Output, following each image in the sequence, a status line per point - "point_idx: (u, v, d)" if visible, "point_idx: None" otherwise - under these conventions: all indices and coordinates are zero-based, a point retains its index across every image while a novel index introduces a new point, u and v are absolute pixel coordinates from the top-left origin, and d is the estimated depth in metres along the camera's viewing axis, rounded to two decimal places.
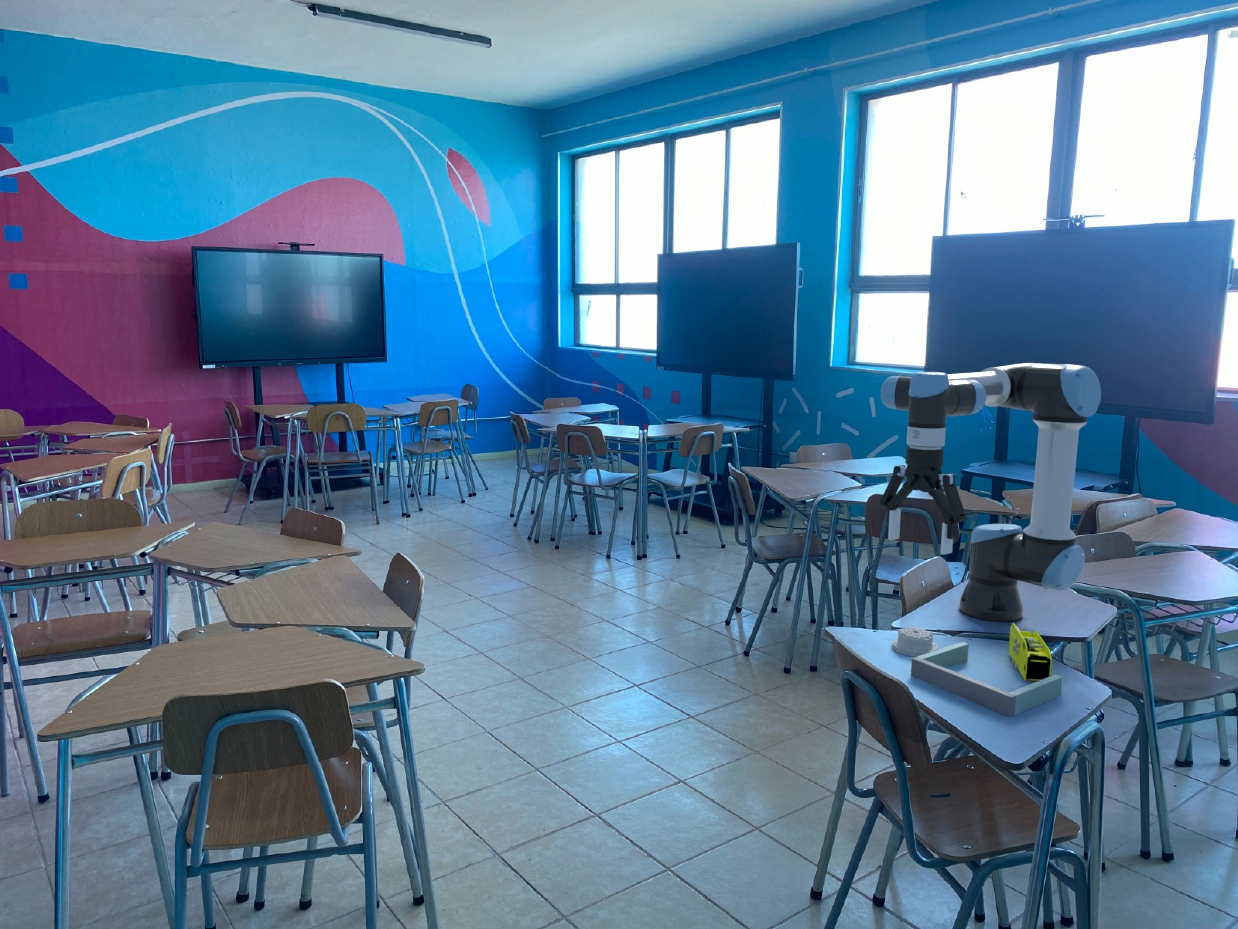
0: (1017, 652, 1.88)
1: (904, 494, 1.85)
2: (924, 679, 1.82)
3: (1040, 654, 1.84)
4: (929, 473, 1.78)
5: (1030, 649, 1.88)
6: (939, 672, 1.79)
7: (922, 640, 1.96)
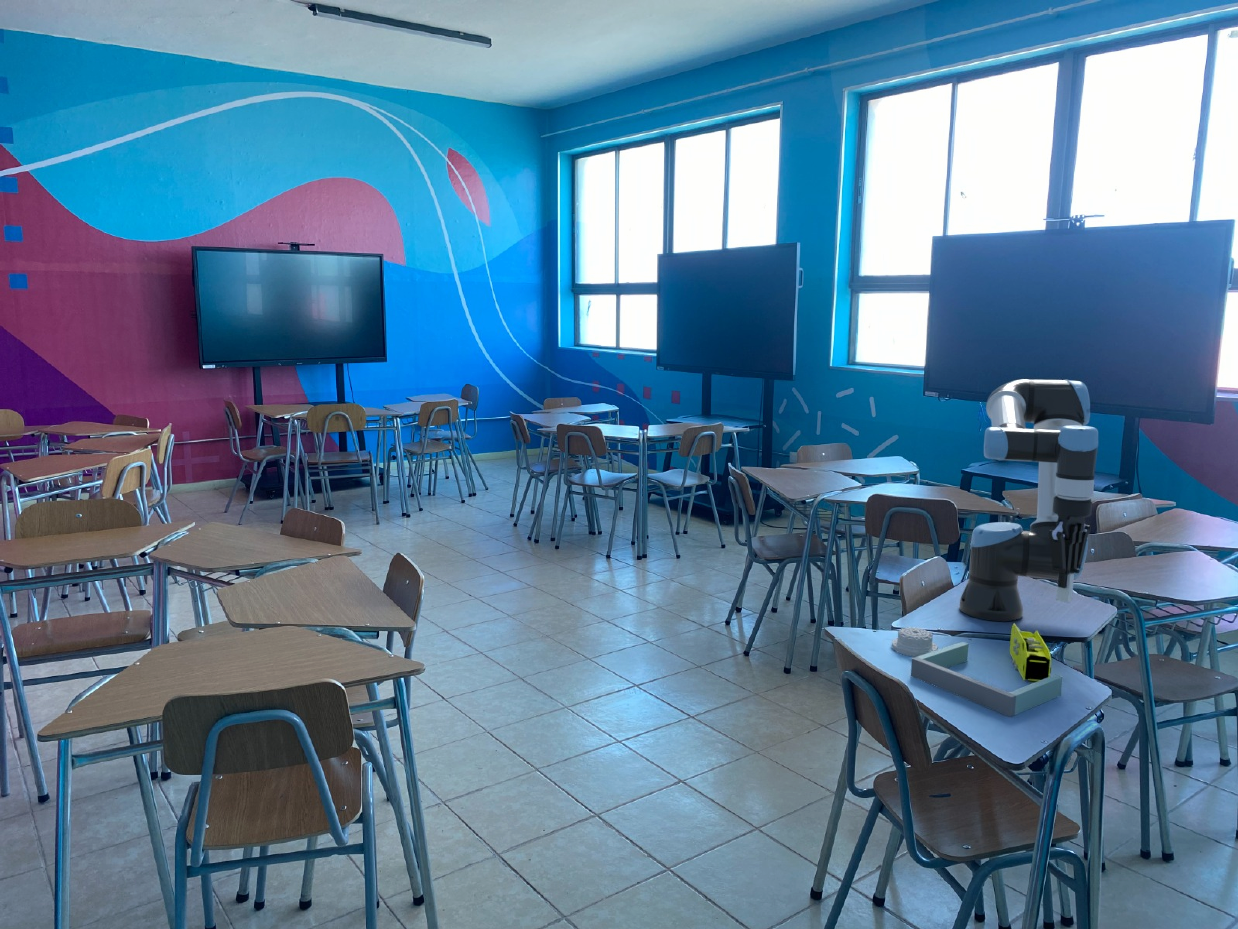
0: (1017, 652, 1.88)
1: None
2: (924, 679, 1.82)
3: (1039, 655, 1.84)
4: None
5: (1030, 649, 1.88)
6: (939, 672, 1.79)
7: (922, 640, 1.96)
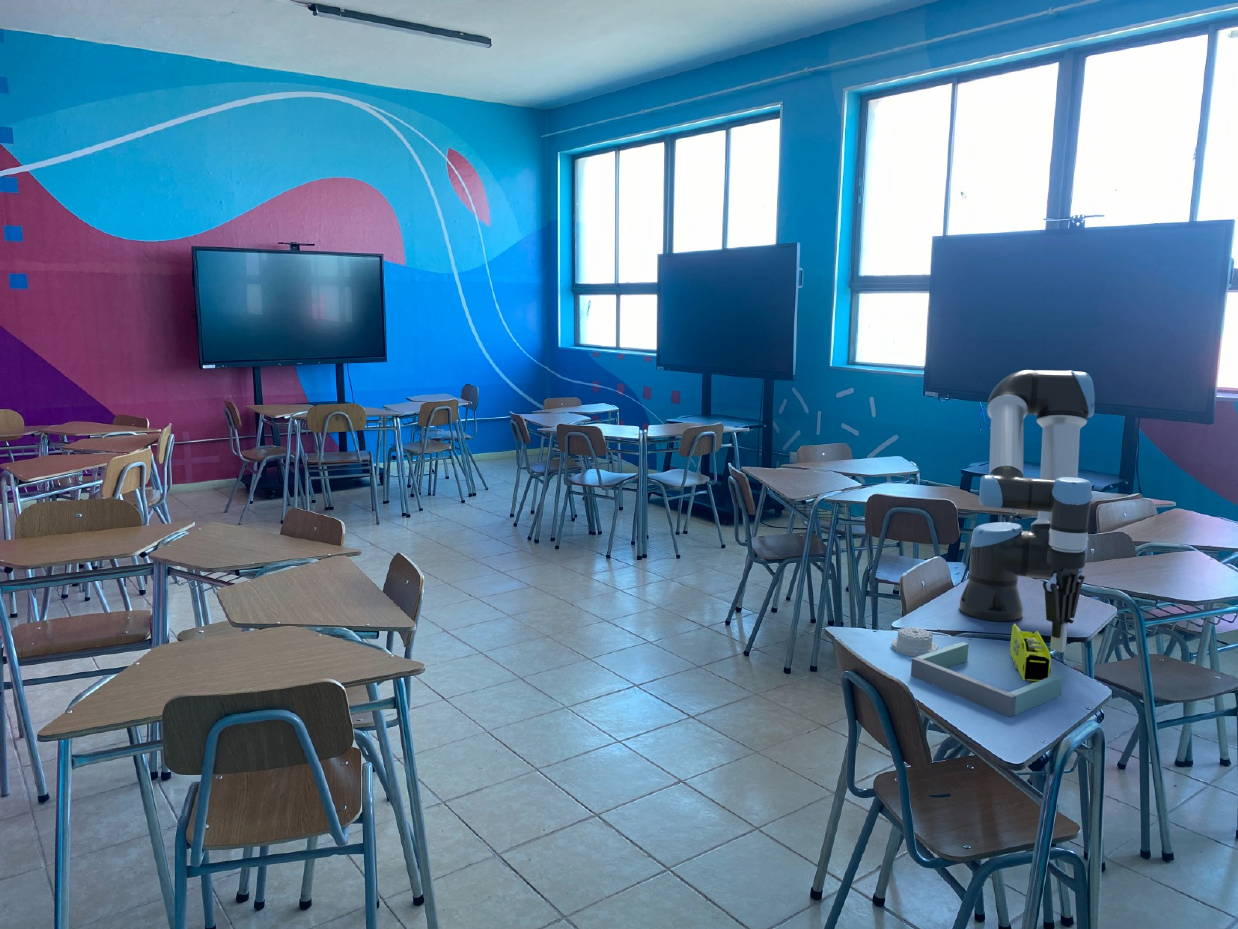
0: (1017, 652, 1.88)
1: None
2: (924, 679, 1.82)
3: (1039, 655, 1.84)
4: None
5: (1030, 649, 1.88)
6: (939, 672, 1.79)
7: (921, 640, 1.96)
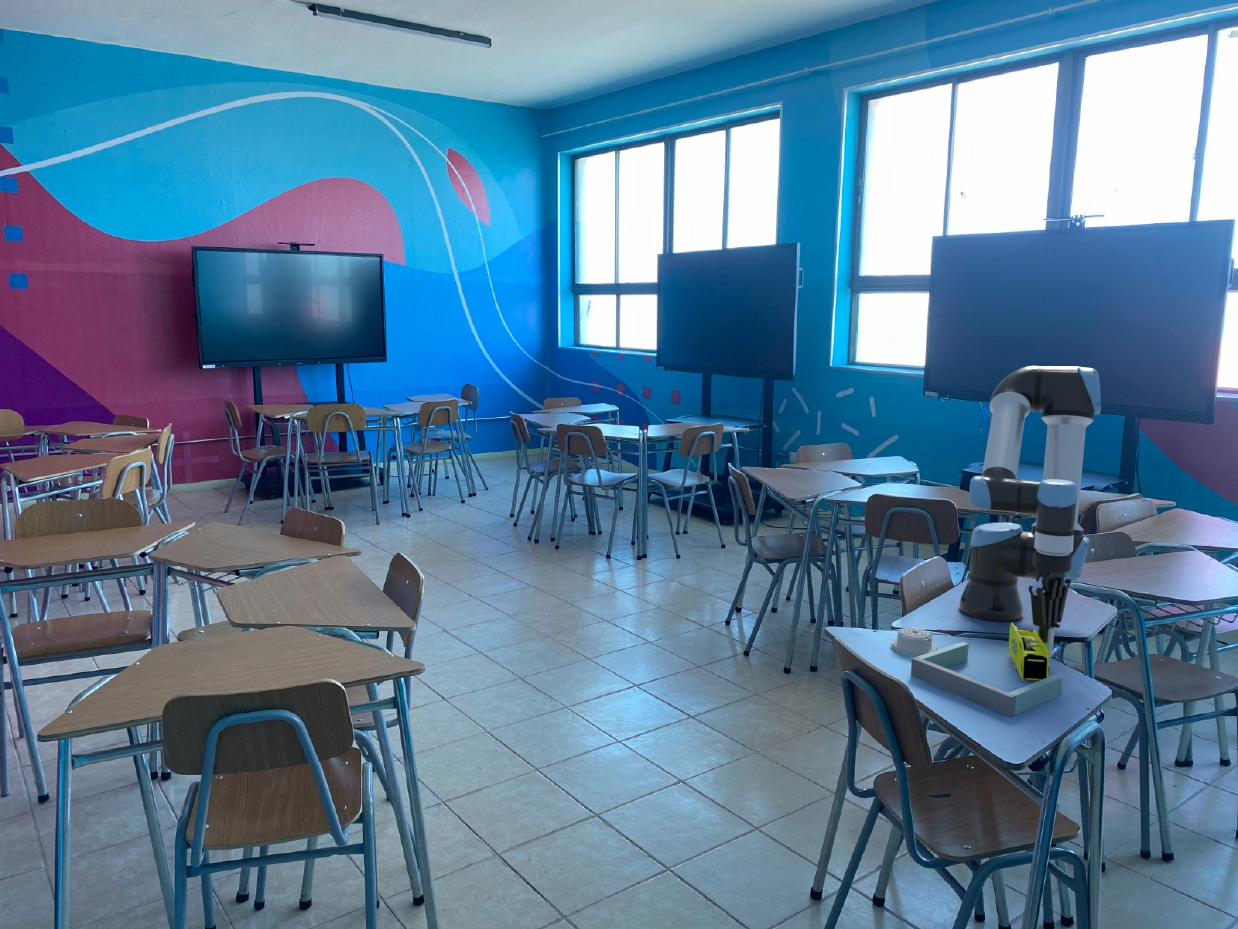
0: (1015, 652, 1.87)
1: None
2: (924, 679, 1.82)
3: (1037, 653, 1.83)
4: None
5: (1028, 648, 1.88)
6: (939, 672, 1.79)
7: (921, 640, 1.96)
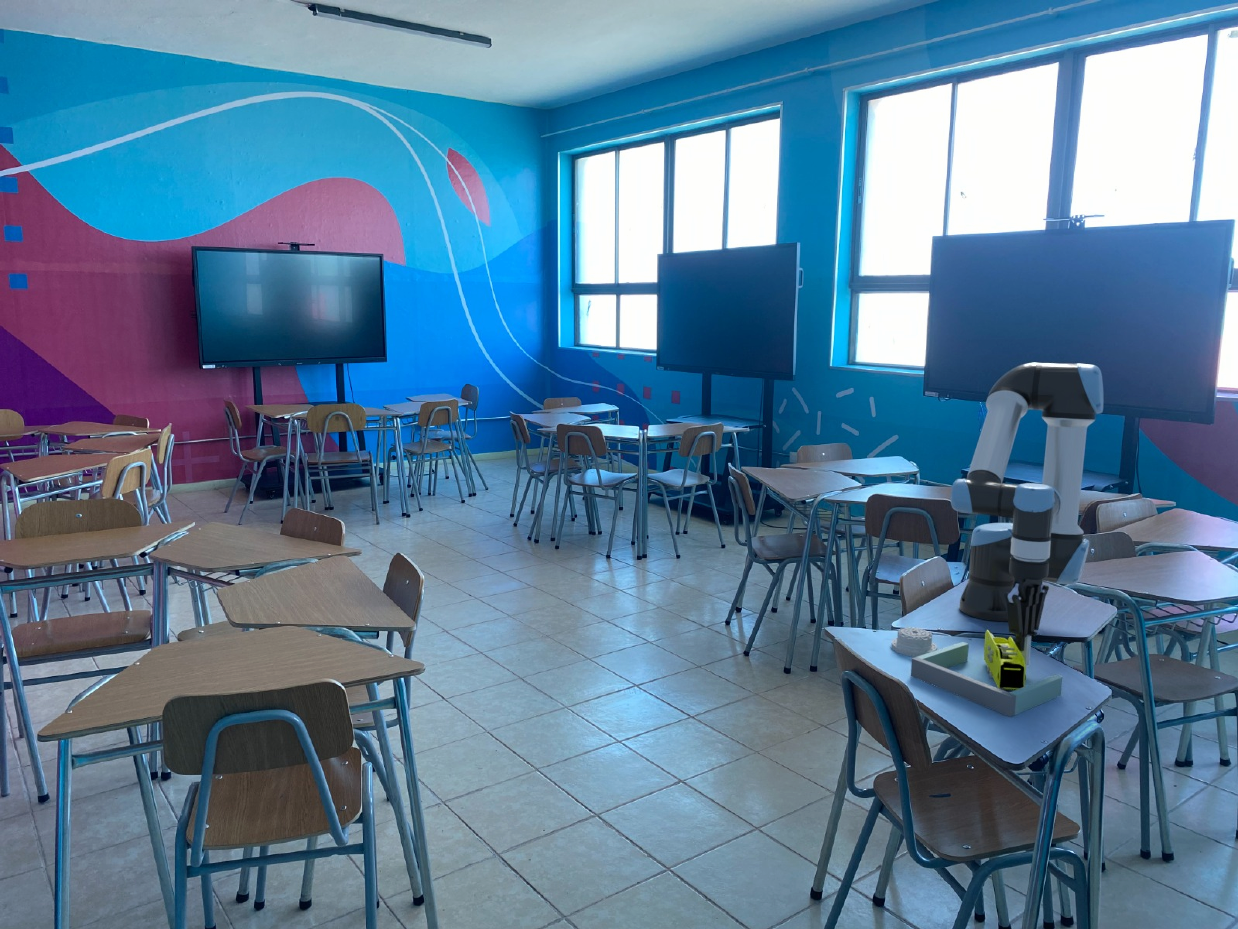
0: (991, 660, 1.83)
1: None
2: (924, 679, 1.82)
3: (1014, 662, 1.79)
4: None
5: (1004, 656, 1.83)
6: (939, 672, 1.79)
7: (921, 640, 1.96)
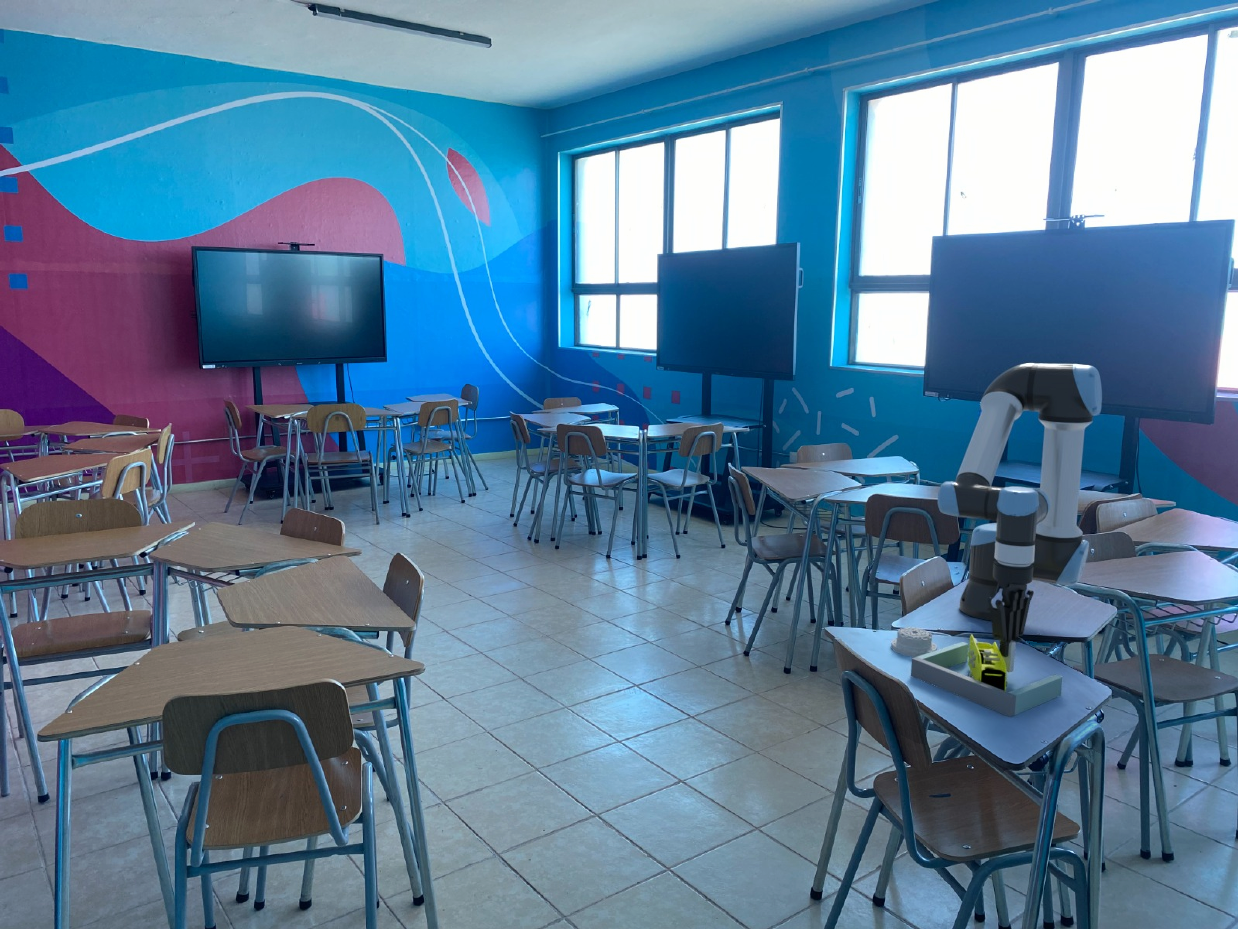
0: (973, 665, 1.80)
1: None
2: (924, 679, 1.82)
3: (996, 667, 1.76)
4: None
5: (987, 662, 1.81)
6: (939, 672, 1.79)
7: (921, 640, 1.96)
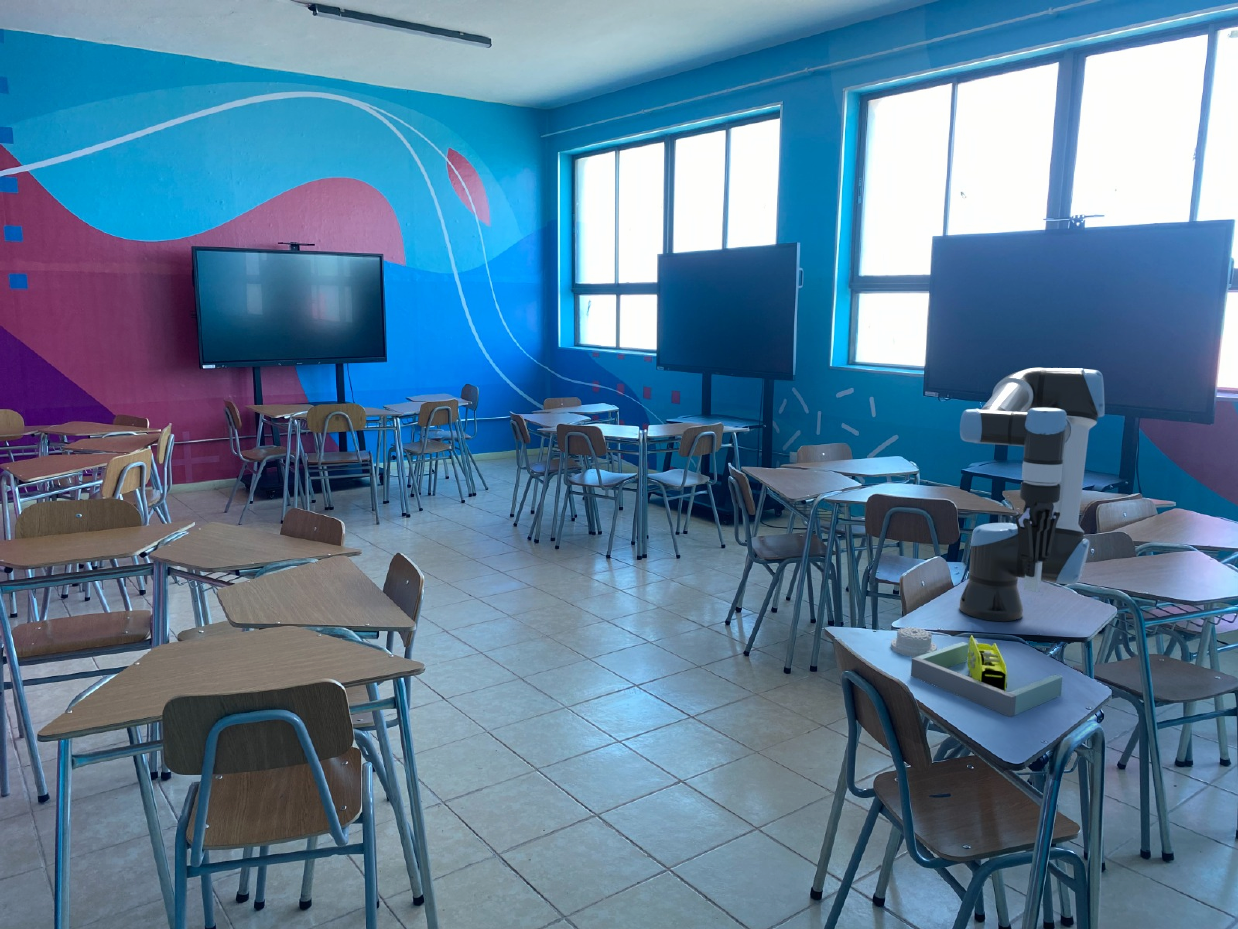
0: (973, 666, 1.80)
1: None
2: (924, 679, 1.82)
3: (996, 668, 1.76)
4: None
5: (987, 663, 1.81)
6: (939, 672, 1.79)
7: (921, 640, 1.96)
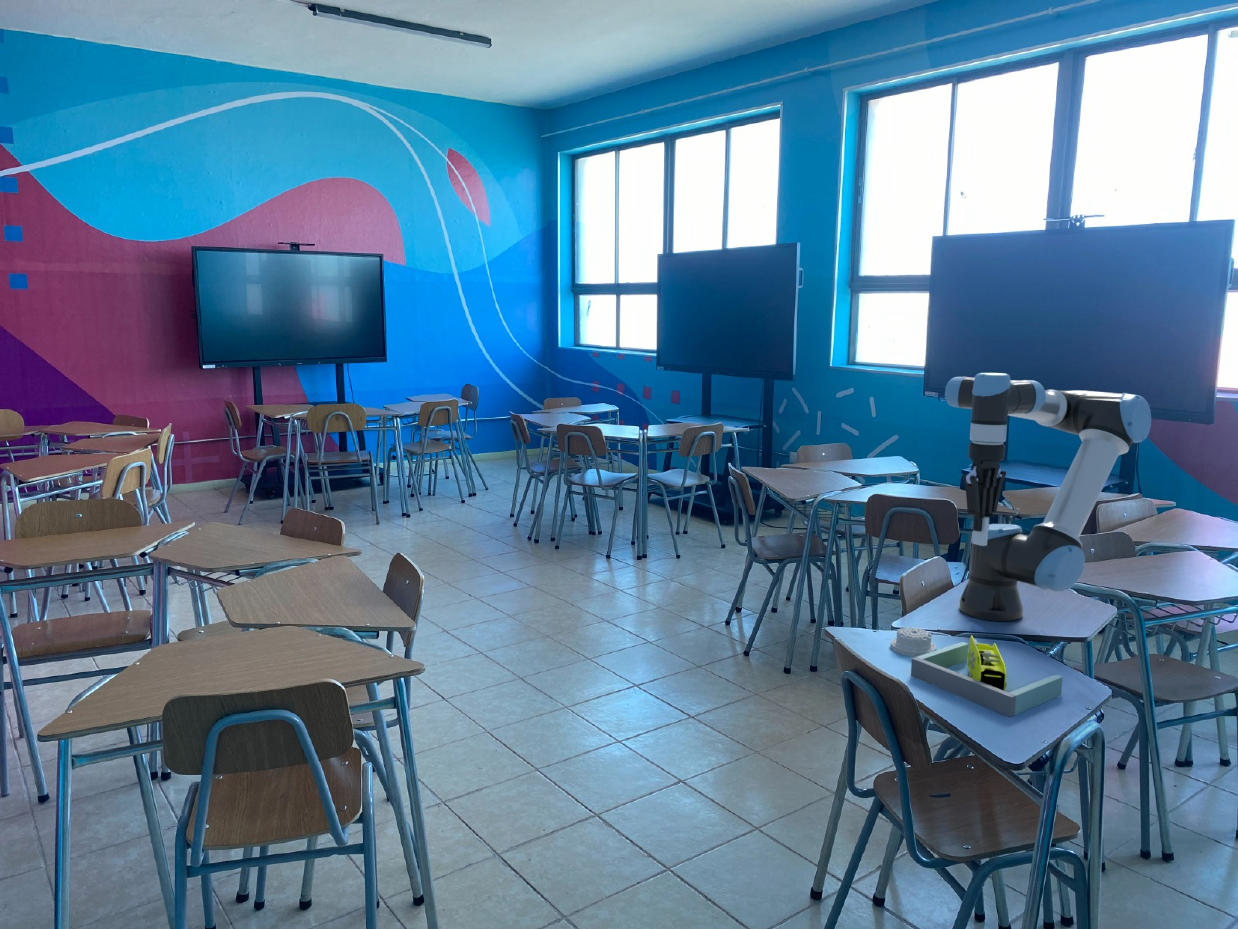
0: (973, 666, 1.80)
1: None
2: (924, 679, 1.82)
3: (995, 669, 1.76)
4: None
5: (987, 663, 1.81)
6: (939, 672, 1.79)
7: (920, 640, 1.96)
